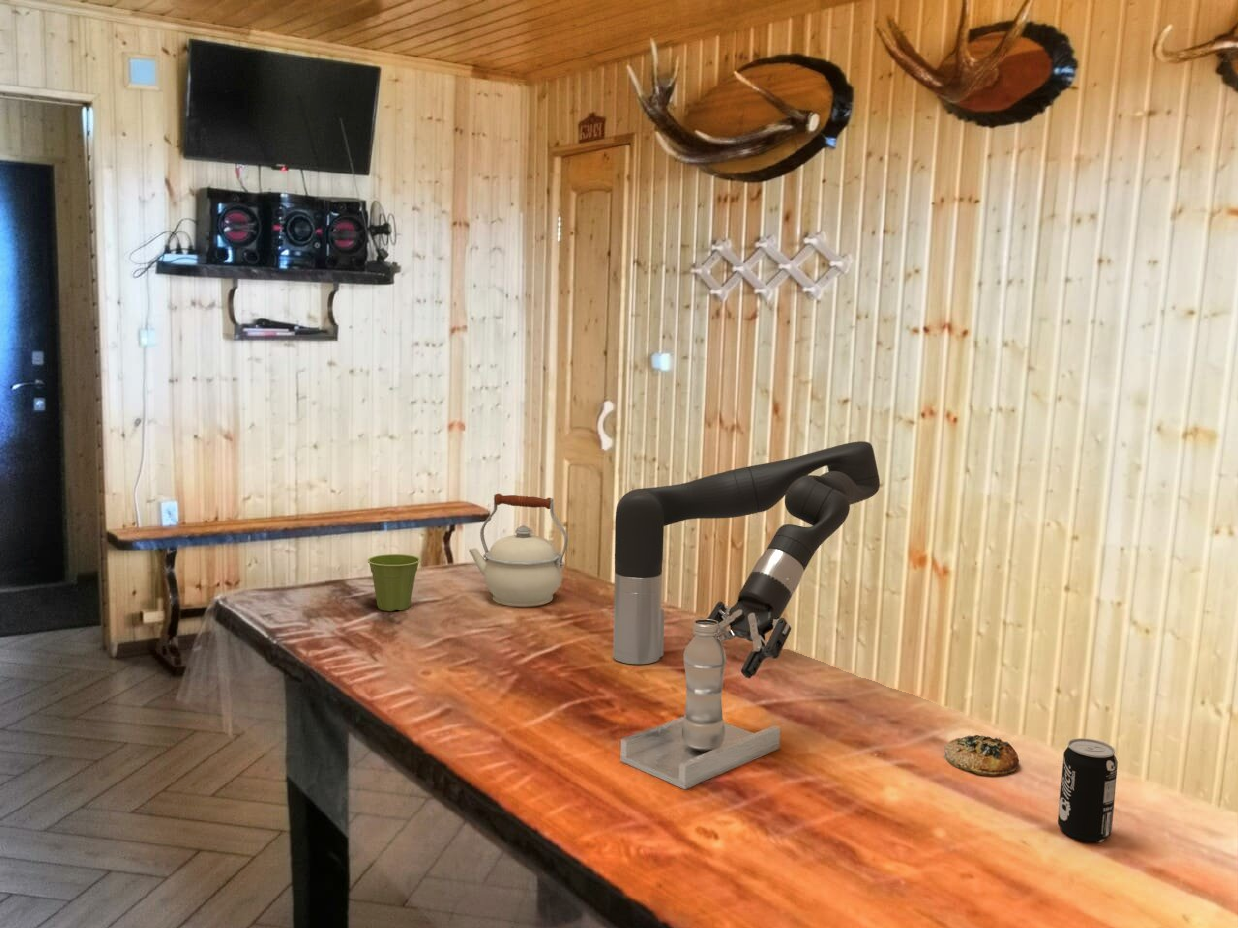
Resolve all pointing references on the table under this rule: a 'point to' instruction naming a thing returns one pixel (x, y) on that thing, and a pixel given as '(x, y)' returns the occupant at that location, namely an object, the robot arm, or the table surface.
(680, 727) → the aluminium track
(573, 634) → the table surface
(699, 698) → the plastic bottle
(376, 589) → the plant pot
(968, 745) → the bread roll
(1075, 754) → the beverage can
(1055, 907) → the table surface
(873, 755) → the table surface
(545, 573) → the kettle
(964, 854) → the table surface
